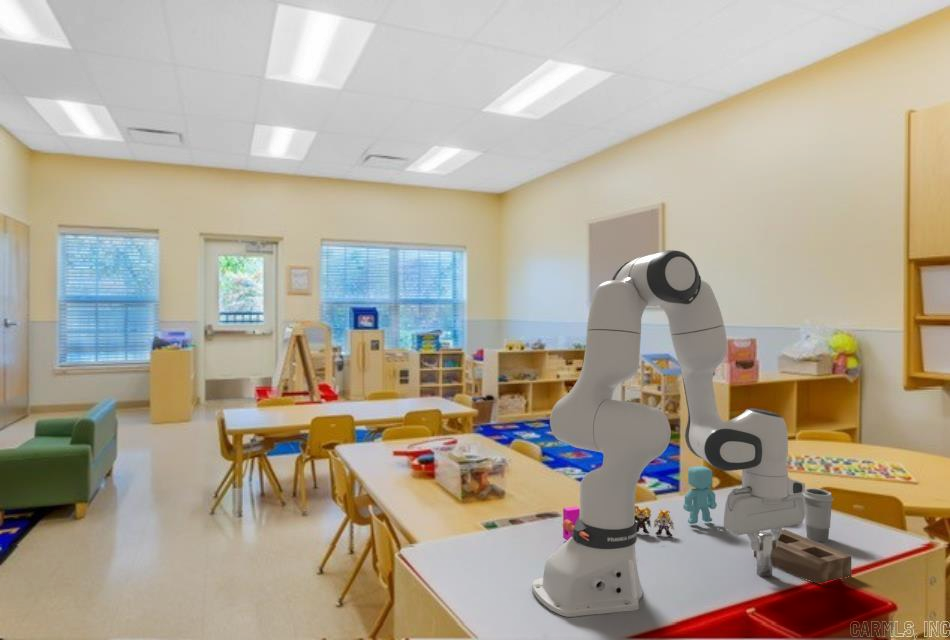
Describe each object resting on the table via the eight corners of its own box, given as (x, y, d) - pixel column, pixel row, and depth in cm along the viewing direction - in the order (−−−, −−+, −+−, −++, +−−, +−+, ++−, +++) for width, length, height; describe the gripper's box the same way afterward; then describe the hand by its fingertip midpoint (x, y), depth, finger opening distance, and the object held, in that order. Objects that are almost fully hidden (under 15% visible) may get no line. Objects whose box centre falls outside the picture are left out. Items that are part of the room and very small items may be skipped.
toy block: (617, 558, 129) (617, 525, 129) (594, 561, 127) (594, 529, 127) (584, 534, 143) (584, 505, 143) (563, 537, 141) (563, 508, 141)
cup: (839, 544, 137) (839, 496, 137) (812, 544, 137) (812, 495, 137) (822, 533, 144) (822, 487, 144) (796, 533, 144) (796, 487, 144)
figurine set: (609, 525, 149) (609, 501, 149) (673, 532, 145) (673, 507, 145) (608, 530, 146) (608, 505, 146) (674, 537, 142) (674, 511, 142)
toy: (708, 517, 155) (708, 463, 155) (721, 523, 151) (721, 468, 151) (679, 520, 153) (679, 466, 153) (690, 527, 148) (691, 471, 148)
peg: (765, 580, 118) (765, 537, 118) (753, 574, 121) (753, 532, 121) (775, 577, 119) (775, 535, 119) (763, 571, 122) (763, 530, 122)
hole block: (818, 587, 115) (818, 563, 115) (753, 556, 129) (753, 535, 129) (851, 579, 118) (851, 556, 118) (784, 550, 133) (784, 529, 133)
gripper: (740, 494, 113) (740, 562, 113) (810, 483, 121) (810, 547, 121) (716, 485, 119) (716, 550, 119) (785, 476, 126) (784, 536, 126)
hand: (764, 548), depth 120 cm, fingers closed on peg, 3 cm apart
